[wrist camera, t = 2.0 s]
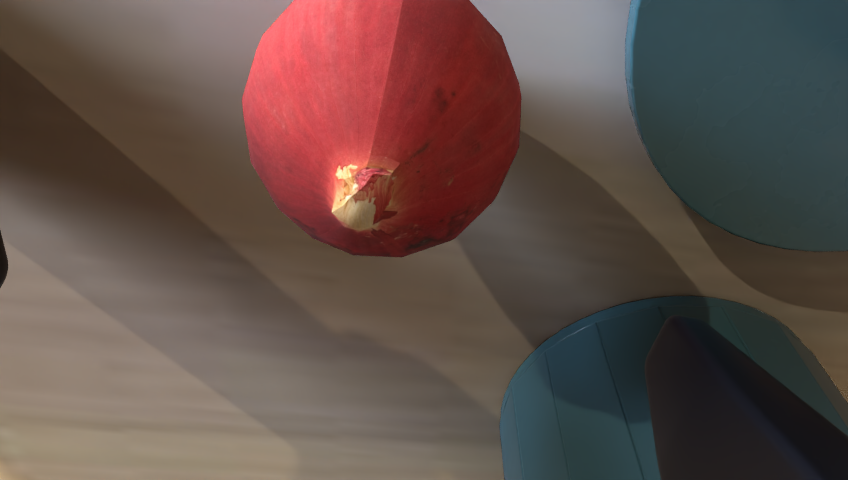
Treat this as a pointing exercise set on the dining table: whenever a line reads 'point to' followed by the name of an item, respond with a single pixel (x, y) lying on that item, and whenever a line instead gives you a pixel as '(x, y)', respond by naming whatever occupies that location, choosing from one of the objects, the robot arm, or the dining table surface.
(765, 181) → the tin lid
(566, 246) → the dining table surface
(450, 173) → the onion
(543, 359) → the tin
